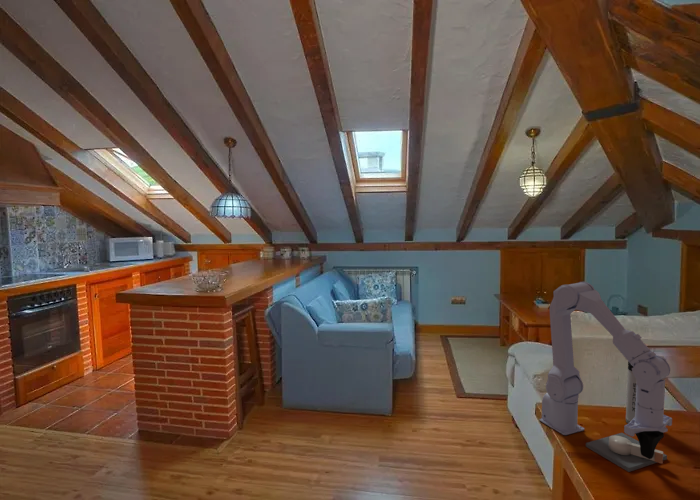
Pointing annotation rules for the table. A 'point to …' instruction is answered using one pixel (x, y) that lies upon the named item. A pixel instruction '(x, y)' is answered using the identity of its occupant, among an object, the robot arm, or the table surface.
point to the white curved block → (631, 448)
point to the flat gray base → (622, 461)
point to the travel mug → (630, 394)
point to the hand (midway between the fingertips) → (646, 456)
